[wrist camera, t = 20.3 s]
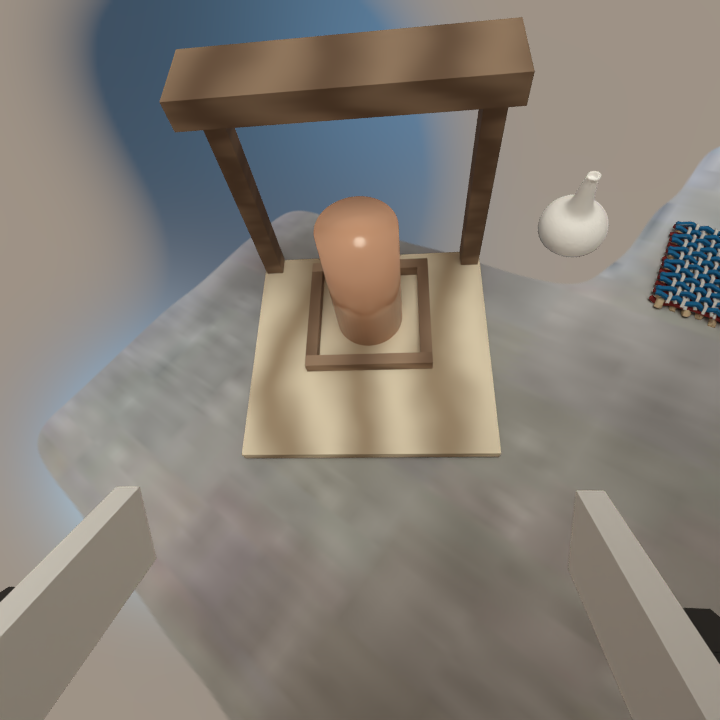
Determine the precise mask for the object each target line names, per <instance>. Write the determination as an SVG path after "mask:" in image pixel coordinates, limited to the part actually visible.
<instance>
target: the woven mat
mask: <svg viewBox="0 0 720 720" xmlns="http://www.w3.org/2000/svg"><path fill="white" fill-rule="evenodd" d="M673 228H674V229H675V230H676V232H670V236H672V237H670V238H669V241H671V242H672V243H671V242H669V243H668V245H667V247H668V248H667V250H666V252H665V253H667V255H668V258H667V257H666V256H664V257H662V260H663V262H662V264H661V265H662V266H664V267H663V268H664V269H663V268H660V270H659V273H660V274H659V275H658V277H657V279H660V280H659V281H658V280H657V281H656V282H655V285H657V286H656V287H654V289H653V292H655V295H656V296H655V297H654V296H653V295H651V296H650V297H649V300H651V301H652V302H653V303H655V304H654V307H657V308H662V306H668V305H669V310H670V311H673V312H675V310H676V308H680V309H682V311H681V315H682V316H685V317H688V316H690V315H691V312H690V311H692V312H695V315H694V316H695V319H698V320H701V319H703V317H704V316H705V317H708V318H709V321H708V325H707V326H710V327H713V328H715V327H716V322H717V321H718V322H719V323H720V266H719V265H720V237H719V236H720V231H718V230H717V229H716V228H715V230H713V229H712V228H710V227H709V226H700V225H699V224H697V225H696V224H695V223H694V222H679V221H678V222H676V224H674V226H673ZM700 231H701V232H700ZM704 231H705V232H704ZM682 239H684V240H682ZM678 251H680V252H678ZM714 275H715V276H716V277H715V276H714ZM671 277H672V278H671ZM714 284H716V285H714ZM708 306H710V307H708Z"/></svg>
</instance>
